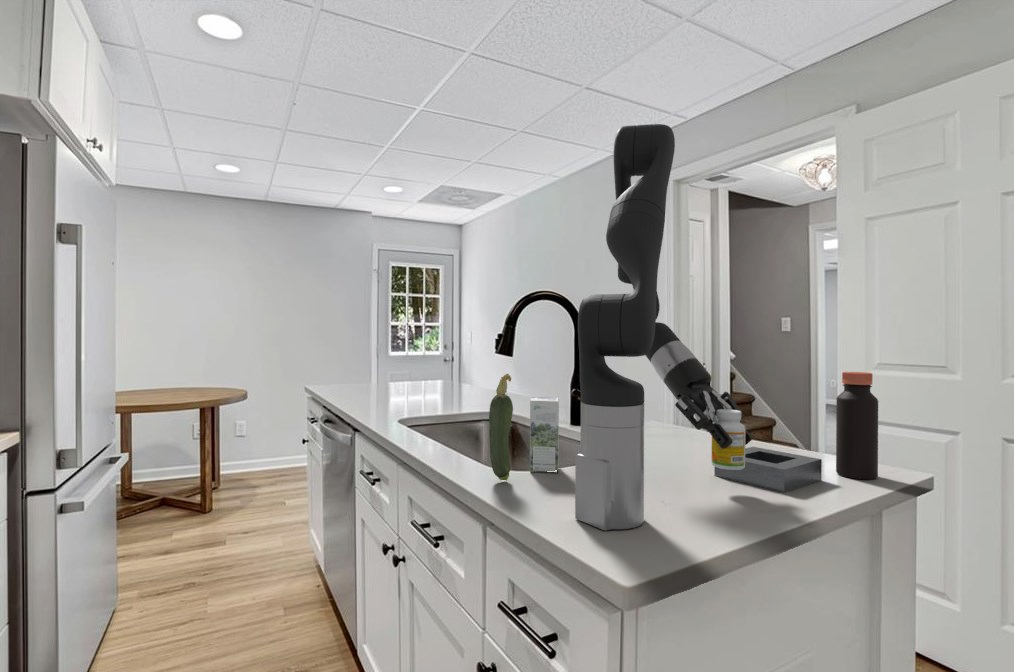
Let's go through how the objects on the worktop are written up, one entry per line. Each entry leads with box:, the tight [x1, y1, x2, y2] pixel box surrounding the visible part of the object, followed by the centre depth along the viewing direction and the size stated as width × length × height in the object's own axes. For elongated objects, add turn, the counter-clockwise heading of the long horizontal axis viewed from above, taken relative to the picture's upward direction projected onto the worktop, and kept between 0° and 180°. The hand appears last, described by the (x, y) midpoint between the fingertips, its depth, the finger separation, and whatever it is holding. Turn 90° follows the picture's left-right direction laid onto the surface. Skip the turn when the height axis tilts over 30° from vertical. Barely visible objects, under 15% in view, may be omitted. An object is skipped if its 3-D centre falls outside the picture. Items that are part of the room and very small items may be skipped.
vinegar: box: [835, 371, 879, 481], centre depth 104 cm, size 7×7×20 cm
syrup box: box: [529, 396, 560, 473], centre depth 108 cm, size 6×6×14 cm
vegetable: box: [488, 373, 514, 482], centre depth 99 cm, size 4×4×20 cm
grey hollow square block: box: [713, 446, 823, 493], centre depth 102 cm, size 14×14×4 cm
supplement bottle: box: [711, 409, 746, 470], centre depth 93 cm, size 5×5×10 cm
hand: (738, 443), depth 91 cm, fingers closed on supplement bottle, 5 cm apart
